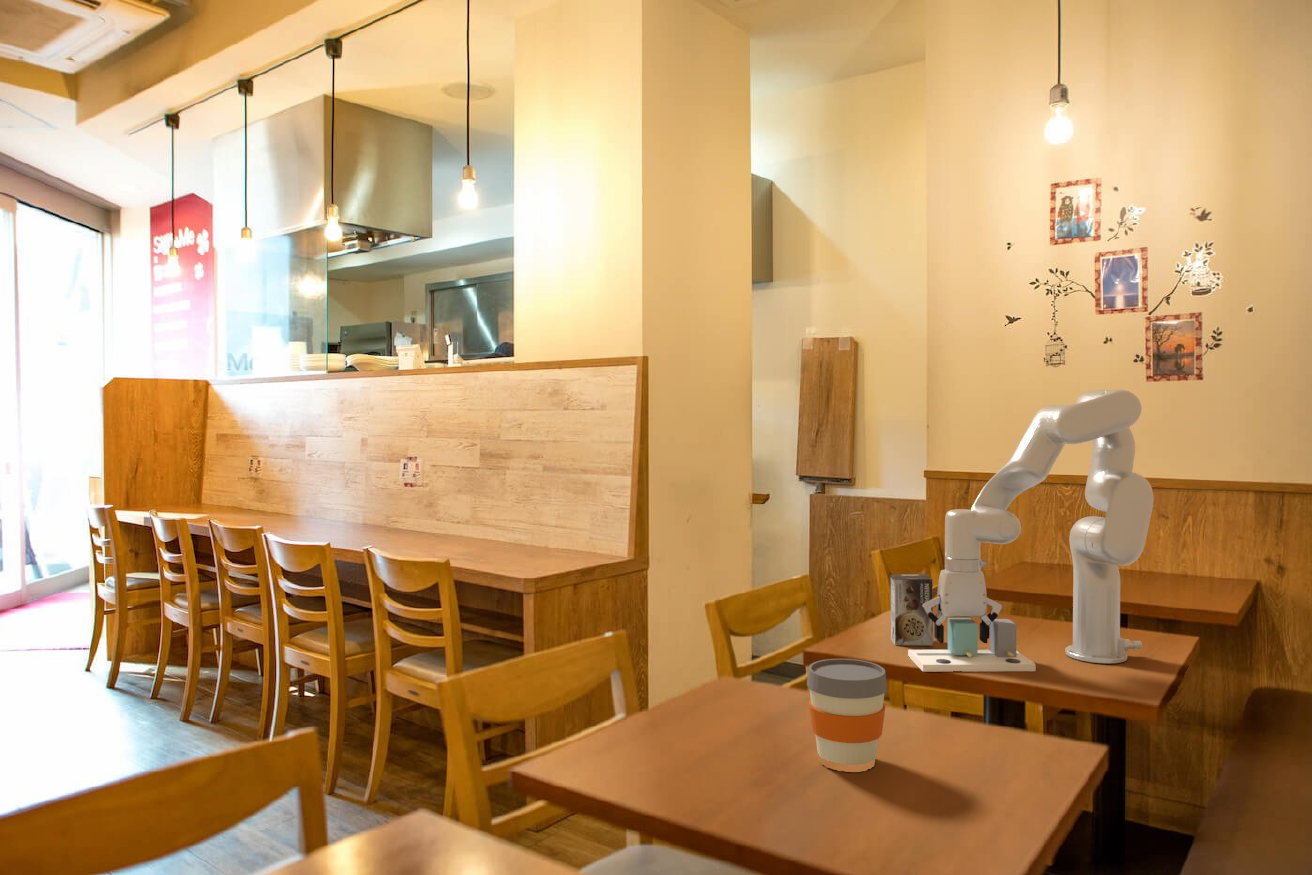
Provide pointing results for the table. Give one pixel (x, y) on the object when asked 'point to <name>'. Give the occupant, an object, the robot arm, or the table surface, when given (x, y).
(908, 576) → the coffee box
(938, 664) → the board
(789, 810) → the table surface
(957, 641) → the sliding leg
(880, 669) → the reusable coffee cup
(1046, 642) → the table surface
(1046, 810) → the table surface
